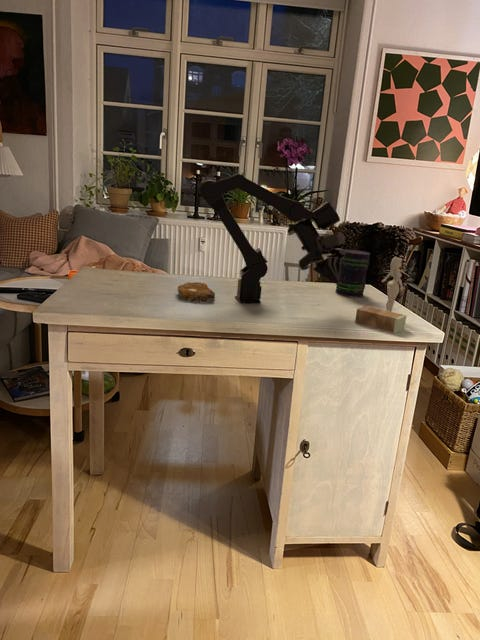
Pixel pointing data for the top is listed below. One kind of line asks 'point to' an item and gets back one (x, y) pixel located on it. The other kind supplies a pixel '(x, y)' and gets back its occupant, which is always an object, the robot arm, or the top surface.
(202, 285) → the decorative rock
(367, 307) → the walnut block
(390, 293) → the human figurine
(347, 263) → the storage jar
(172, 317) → the top surface
